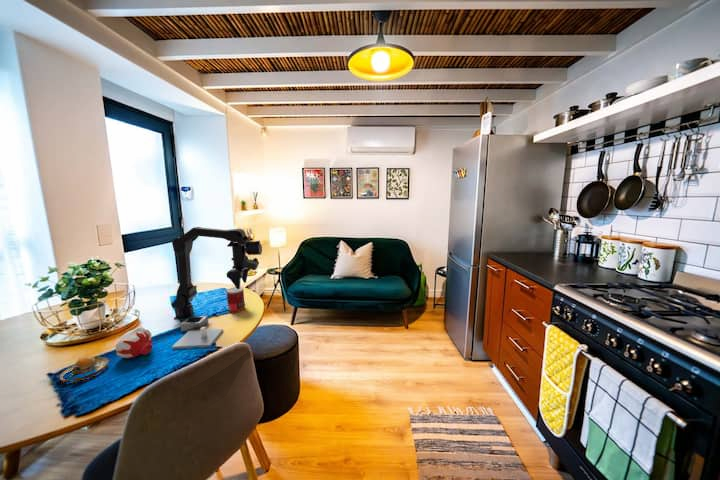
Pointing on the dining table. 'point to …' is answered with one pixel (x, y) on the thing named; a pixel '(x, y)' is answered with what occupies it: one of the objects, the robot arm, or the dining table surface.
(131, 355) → the red white ovoid
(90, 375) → the ringed planet model
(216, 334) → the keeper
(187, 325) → the link
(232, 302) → the canned food
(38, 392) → the dining table surface
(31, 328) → the dining table surface
